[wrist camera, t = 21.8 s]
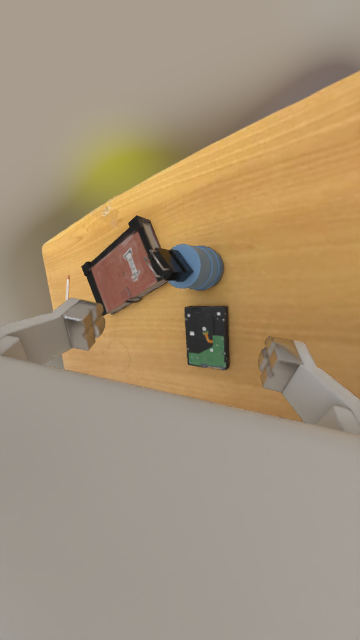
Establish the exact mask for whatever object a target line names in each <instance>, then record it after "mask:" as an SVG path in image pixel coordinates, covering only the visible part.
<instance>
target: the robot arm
mask: <svg viewBox="0 0 360 640" xmlns="http://www.w3.org/2000/svg"><path fill="white" fill-rule="evenodd" d="M103 312H104V309H103V305H102V304H100V303H96V302H91V301H86V300H81V299H76V298H70V299H69V300H67V301H66V302H65V303H63V304H62V305H61V306H59V307H58V308H57V309H55V310H54V311H53V312H52V313H50V314H47V313H46V314H43V315H39V316H36V317H32V318H29V319H25V320H21V321H18V322H14V323H11V324H7V325H3V326H0V640H360V399H359V398H357V397H356V396H355V395H354V394H352V393H351V392H350V391H348V390H347V389H346V388H345V387H343V386H342V385H341V384H340V383H338V382H337V381H336V380H335V379H333V378H332V377H331V376H330V375H328V374H327V373H326V372H325V371H323V370H322V369H321V368H317V367H316V365H315V363H314V361H313V359H312V357H311V355H310V353H309V351H308V349H307V347H306V345H305V343H304V342H301V341H295V340H287V339H282V338H276V337H271V336H269V337H268V338H267V339H266V341H265V345H266V347H265V348H264V349H262V350H261V352H260V355H259V360H258V365H259V369H260V370H261V371H262V374H261V376H260V377H261V382H262V387H263V388H266V389H270V390H274V391H278V392H282V394H283V396H284V397H285V398H286V400H287V401H288V402H289V403H290V405H291V406H292V407H293V409H294V410H295V411H296V413H297V414H298V415H299V417H300V418H301V419H302V420H303V422H300V421H295V420H291V419H286V418H281V417H277V416H272V415H268V414H263V413H259V412H254V411H250V410H245V409H241V408H236V407H232V406H227V405H223V404H218V403H214V402H209V401H205V400H200V399H196V398H192V397H187V396H183V395H178V394H174V393H169V392H165V391H160V390H156V389H151V388H146V387H142V386H137V385H133V384H128V383H124V382H119V381H115V380H110V379H106V378H101V377H97V376H92V375H88V374H83V373H79V372H74V371H70V370H65V369H61V368H56V367H52V366H47V365H43V364H44V363H46V362H48V361H49V360H51V359H53V358H55V357H57V356H59V355H60V354H62V353H64V352H66V351H68V350H70V349H71V348H76V349H82V350H87V351H89V349H90V348H91V347H92V346H93V344H94V343H95V338H97V337H99V336H100V335H101V334H102V333H103V331H104V328H105V318H104V317H103V316H102V315H101V314H102V313H103Z"/></svg>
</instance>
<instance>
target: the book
mask: <svg viewBox="0 0 360 640" xmlns="http://www.w3.org/2000/svg"><path fill="white" fill-rule="evenodd" d="M128 224H129V228H128V229H127V230H126V231H125V232H124V233H123V234H122V235H121V236H120V237H118V238H117V239H116V240H115V241H114V242H113V243H112V244H111V245H110V246H109V247H107V248H106V249H105V250H104V251H103V252H102V253H101V254H100V255H99V256H97V257H96V258H95V259H94V260H93V261H92V262H86V263H85V264H84V265H83V266H82V270H83V272H84V275H85V276H86V277H87V279H88V282H89V285H90V287H91V290H92V292H93V295H94V298H95V300H96V303H100V304H102V305H103V309H104V312H103V313H102V314H101V315H102V316H104V315H106V314H109V313H111V315H112V314H114V313H116V312H118V311H120V310H121V309H123V308H125V307H126V306H128V305H130V304H131V303H135V302H138V301H140V300H141V298H142V297H143V296H145V295H147V294H148V293H150V292H152V291H153V290H155V289H157V288H159V287H160V286H162V285H164V284H165V283H167V282H168V281H165V280H164V279H163V277H156V276H155V274H154V273H153V271H152V270H151V268H150V267H149V265H148V264H147V262H146V261H145V260H144V257H149V256H150V254H151V253H150V251H149V250H155V248H161V247H160V244H159V242H158V239H157V237H156V234H155V232H154V229H153V227H152V224H151V222H150V220H148V219H145V218H142V217H140V216H137V215H136V216H135V217H134V218H133V219H132V220H131V221H130V222H129V223H128ZM147 261H148V262H149V264H150V265H151V266H152V268H153V269H154V271H155V272H156V274H157V275H161V274H160V273H159V271H158V270H157V268H156V267H155V266H154V264H153V263H152V261H151V260H150V259H147Z"/></svg>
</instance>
